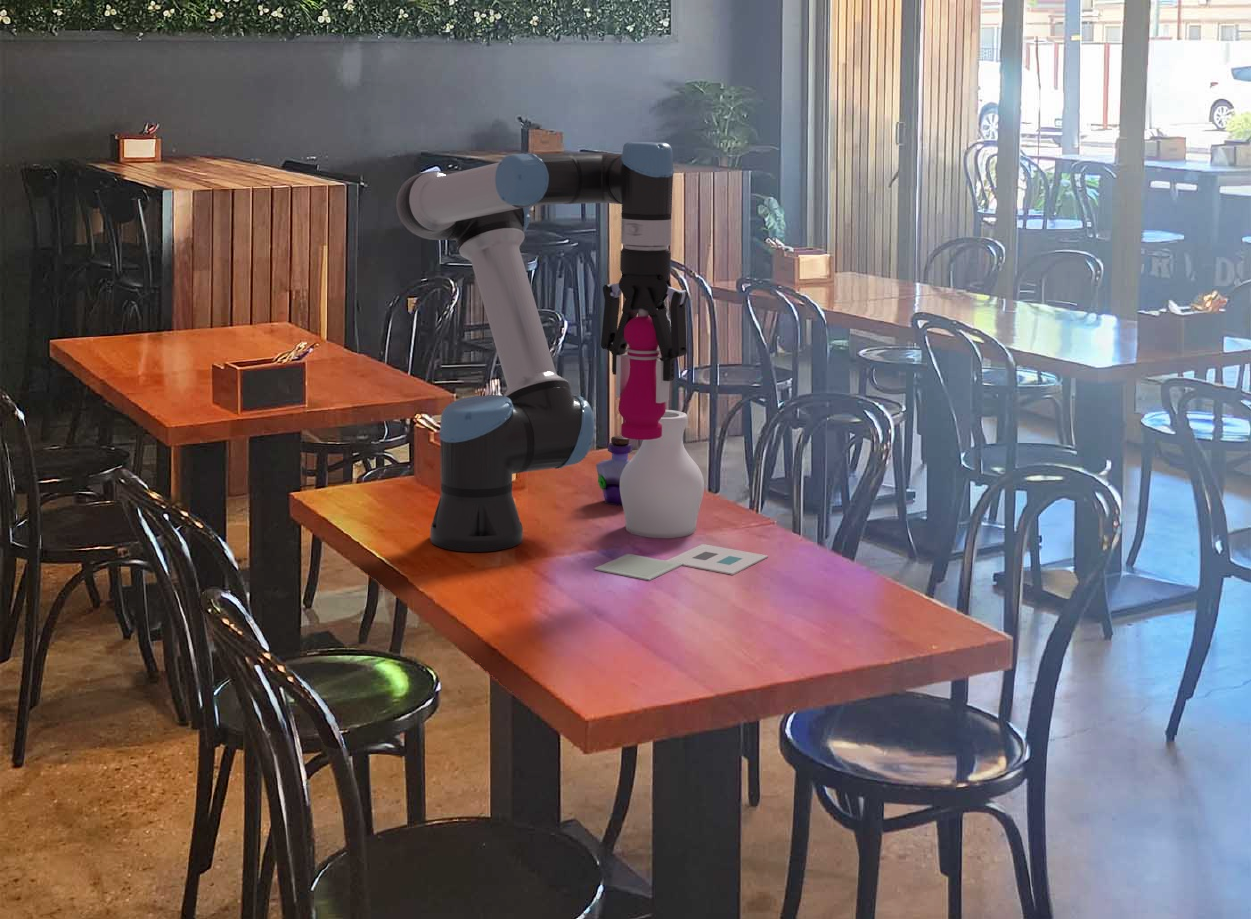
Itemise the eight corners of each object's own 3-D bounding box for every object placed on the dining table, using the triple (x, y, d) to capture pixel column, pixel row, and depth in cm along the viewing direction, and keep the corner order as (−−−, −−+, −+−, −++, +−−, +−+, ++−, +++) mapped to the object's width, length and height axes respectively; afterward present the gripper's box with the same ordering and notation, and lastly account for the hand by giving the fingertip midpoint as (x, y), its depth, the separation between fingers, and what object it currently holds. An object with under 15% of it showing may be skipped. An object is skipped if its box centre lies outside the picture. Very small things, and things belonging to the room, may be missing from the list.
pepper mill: (660, 442, 243) (663, 310, 239) (613, 439, 244) (615, 307, 240) (668, 432, 250) (671, 304, 246) (622, 429, 251) (625, 302, 247)
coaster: (594, 569, 250) (594, 568, 250) (628, 555, 258) (628, 553, 258) (649, 580, 245) (649, 579, 245) (682, 565, 253) (682, 563, 253)
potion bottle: (585, 501, 292) (586, 436, 289) (616, 493, 298) (617, 430, 296) (621, 510, 286) (623, 444, 284) (652, 501, 293) (654, 437, 290)
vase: (683, 515, 284) (686, 403, 279) (715, 536, 271) (719, 419, 266) (607, 521, 279) (608, 407, 274) (636, 543, 266) (638, 424, 261)
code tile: (665, 562, 255) (665, 560, 255) (702, 545, 265) (702, 543, 265) (732, 574, 249) (732, 573, 249) (768, 557, 259) (768, 555, 259)
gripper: (577, 244, 243) (575, 395, 248) (690, 253, 233) (685, 410, 238) (604, 241, 249) (601, 388, 254) (714, 249, 239) (709, 402, 244)
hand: (642, 398), depth 246 cm, fingers closed on pepper mill, 6 cm apart
